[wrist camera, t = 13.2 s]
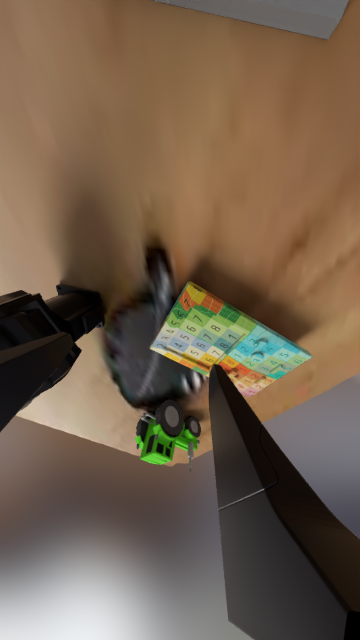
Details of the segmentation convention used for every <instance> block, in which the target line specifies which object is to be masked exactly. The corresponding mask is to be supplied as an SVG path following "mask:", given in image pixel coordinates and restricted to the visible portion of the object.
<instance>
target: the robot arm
mask: <svg viewBox="0 0 360 640" xmlns="http://www.w3.org/2000/svg"><path fill="white" fill-rule="evenodd" d="M60 287H61V288H60ZM56 288H57V292H58V296H56V297H53V298H51V299H48V300H46V301H44V300H43V299H42V296H41V295H40V293H37V294H33V295H32V294H28V293H26V292H24V291H22V290H20V291H16V292H13V293H9V294H6V295H2V296H0V432H1V431H2V429H3V428H4V427H5V426H6V425H7V424H8V423H9V422H10V420H11V419H12V418H13V417H14V416H15V415H16V414H17V413H18V412H19V410H20V409H21V408H22V407H23V406H24V405H25V404H26V403H28V402H29V401H30V400H32V399H33V398H35V397H36V396H38V395H39V394H41V393H42V392H44V391H46V390H48V389H50V388H51V387H53V386H54V385H55V384H57V383H58V382H59V381H61V380H62V379H63V378H64V377H65V376H66V375H67V374H68V372H69V371H70V369H71V367H72V366H73V364H74V363H75V361H76V359H77V358H78V356H79V354H80V353H81V351H82V350H81V349H80V348H79V347H78V346H77V345H76V343H75V342H76V341H77V340H78V339H79V338H80V337H82V336H83V335H84V334H88V333H89V332H90V331H91V330H93V329H94V328H95V327H97V328H102V327H103V326H104V322H103V320H104V318H103V310H102V305H101V297H100V294H99V293H98V292H95V291H91V290H86V289H81V288H76V287H72V286H67V285H62V284H59V285H57V286H56ZM95 294H96V295H97V296H96V295H95ZM209 409H210V420H211V432H212V443H213V452H214V453H213V454H214V465H215V476H216V488H217V499H218V509H219V522H220V534H221V545H222V556H223V566H224V578H225V590H226V600H227V612H228V620H229V622H230V623H232V624H233V625H234V626H236V627H237V628H238V629H239V630H241V631H242V632H244V633H245V634H246V635H248V636H249V637H250V638H252V639H253V640H360V539H359V538H358V537H357V536H355V535H354V534H353V533H352V532H351V531H350V530H349V529H348V528H347V527H345V526H344V525H343V524H342V523H341V522H340V521H339V520H338V519H337V518H336V517H335V516H334V514H333V513H332V512H331V511H330V510H329V509H328V508H327V507H326V506H325V504H324V503H323V502H322V501H321V499H320V498H319V497H318V496H317V494H316V493H315V492H314V491H313V489H312V488H311V487H310V486H309V484H308V483H307V482H306V481H305V479H304V478H303V477H302V476H301V474H300V473H299V472H298V471H297V469H296V468H295V467H294V466H293V464H292V463H291V462H290V461H289V459H288V458H287V457H286V456H285V454H284V453H283V452H282V450H281V449H280V448H279V446H278V445H277V444H276V442H275V441H274V440H273V438H272V437H271V435H270V434H269V433H268V431H267V430H266V429H265V427H264V426H263V424H261V421H260V420H259V419H258V417H257V416H256V414H255V413H254V412H253V410H252V409H251V407H250V406H249V404H248V403H247V402H246V400H245V399H244V397H243V396H242V395H241V393H240V392H239V390H238V389H237V387H236V386H235V385H234V383H233V382H232V380H231V379H230V377H229V376H228V375H227V373H226V372H225V370H224V369H223V368H222V366H221V365H219V364H213V366H212V368H211V371H210V374H209Z"/></svg>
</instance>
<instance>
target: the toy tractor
mask: <svg viewBox="0 0 360 640" xmlns="http://www.w3.org/2000/svg"><path fill="white" fill-rule="evenodd" d="M142 415H143V416H142V417H141V418H140V421H139V422H138V425H137V427H136V429H137V432H136V435H137V437H136V438H135V440H136V443H137V449H138V448H139V447H140V448H141V449H142V452H141V456H140V459H142V460H144V461H147V462H149V463H153V464H159V465H160V464H163V463H166V462H169V461H172V457H173V453H174V448H175V446H177V447H179V448H181V449H184V450H186V451H188V454H187V456H188V458H189V472H191V458H193V450H196V449H197V444H199V443H200V441H199V440H197V437H199V436H200V434H201V433H200V432H201V427H200V424H199V421H198V420H197V419H196V418H194V417H190V418H188V419H187V420H186V423H184V417H183V412H182V409H181V408H180V406H179V404H177V403H176V402H175V401H173V400H170V399H169V400H166V401H165V402H163V403H162V404H160V405H159V406H158V407H157V410H156V412H155V413H154V412H149V413H148V412H147V414H146V413H143V414H142Z"/></svg>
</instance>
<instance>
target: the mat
mask: <svg viewBox="0 0 360 640" xmlns="http://www.w3.org/2000/svg"><path fill="white" fill-rule="evenodd" d="M153 1H157V2H162V3H166V4H171V5H175V6H180V7H184V8H188V9H193V10H197V11H202V12H206V13H211V14H215V15H220V16H224V17H229V18H233V19H238V20H242V21H247V22H251V23H256V24H260V25H265V26H269V27H274V28H278V29H283V30H287V31H291V32H296V33H300V34H305V35H309V36H314V37H318V38H323V39H327V40H328V39H329V37H330V35H331V34H332V32H333V31H334V29H335V28H336V26H337V25H338V23H339V22H340V20H341V18H342V15H343V13H344V10H345V8H346V5H347V3H348V0H153Z"/></svg>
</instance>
